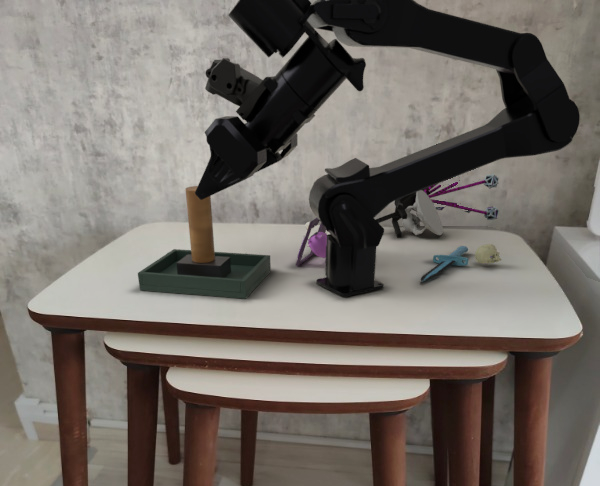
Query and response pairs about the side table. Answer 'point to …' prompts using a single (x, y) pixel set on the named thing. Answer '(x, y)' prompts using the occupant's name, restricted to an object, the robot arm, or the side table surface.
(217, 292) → the tray
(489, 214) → the decorative piece
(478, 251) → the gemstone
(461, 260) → the knife
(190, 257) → the wooden peg on stand
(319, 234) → the purple triangular frame ornament
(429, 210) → the miniature
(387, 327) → the side table surface
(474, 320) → the side table surface
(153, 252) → the side table surface
